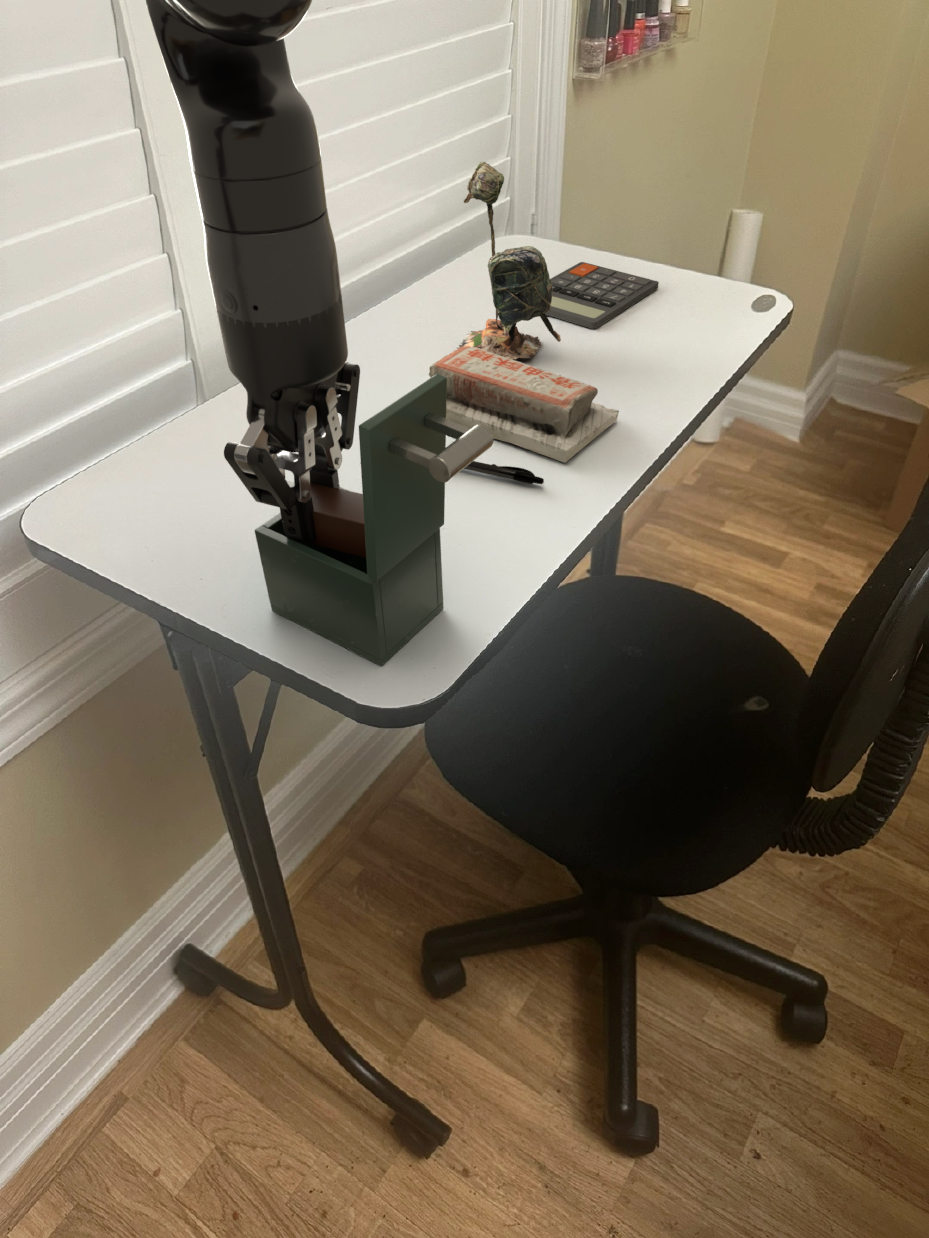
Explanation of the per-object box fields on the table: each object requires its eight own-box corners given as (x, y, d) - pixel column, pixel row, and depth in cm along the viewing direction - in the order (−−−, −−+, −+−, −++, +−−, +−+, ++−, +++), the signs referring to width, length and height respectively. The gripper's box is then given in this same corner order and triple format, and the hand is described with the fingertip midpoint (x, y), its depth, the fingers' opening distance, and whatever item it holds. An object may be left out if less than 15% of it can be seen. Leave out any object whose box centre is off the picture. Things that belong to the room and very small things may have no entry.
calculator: (660, 280, 113) (594, 321, 105) (659, 287, 114) (594, 329, 105) (581, 260, 119) (513, 297, 110) (581, 267, 119) (513, 305, 111)
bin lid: (358, 425, 52) (434, 458, 49) (436, 373, 56) (509, 401, 54) (366, 576, 60) (432, 610, 57) (435, 520, 64) (498, 549, 62)
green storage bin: (271, 610, 70) (254, 529, 64) (336, 559, 74) (325, 480, 69) (381, 666, 65) (372, 584, 60) (444, 608, 69) (440, 527, 64)
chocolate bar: (311, 514, 67) (306, 480, 65) (402, 536, 65) (399, 502, 63) (289, 538, 65) (282, 504, 63) (381, 562, 63) (378, 527, 61)
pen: (547, 480, 82) (547, 469, 81) (540, 490, 81) (541, 479, 80) (409, 449, 86) (408, 439, 86) (401, 458, 85) (400, 447, 84)
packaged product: (412, 367, 89) (472, 331, 95) (415, 411, 92) (473, 374, 98) (569, 420, 81) (624, 377, 86) (566, 466, 84) (619, 422, 90)
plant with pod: (534, 378, 97) (542, 179, 83) (447, 354, 102) (440, 161, 88) (570, 349, 102) (583, 157, 88) (485, 327, 107) (485, 141, 93)
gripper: (267, 351, 48) (311, 596, 60) (386, 258, 58) (404, 485, 69) (152, 329, 50) (216, 570, 62) (285, 243, 60) (319, 466, 72)
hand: (315, 524), depth 66 cm, fingers closed on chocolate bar, 3 cm apart
